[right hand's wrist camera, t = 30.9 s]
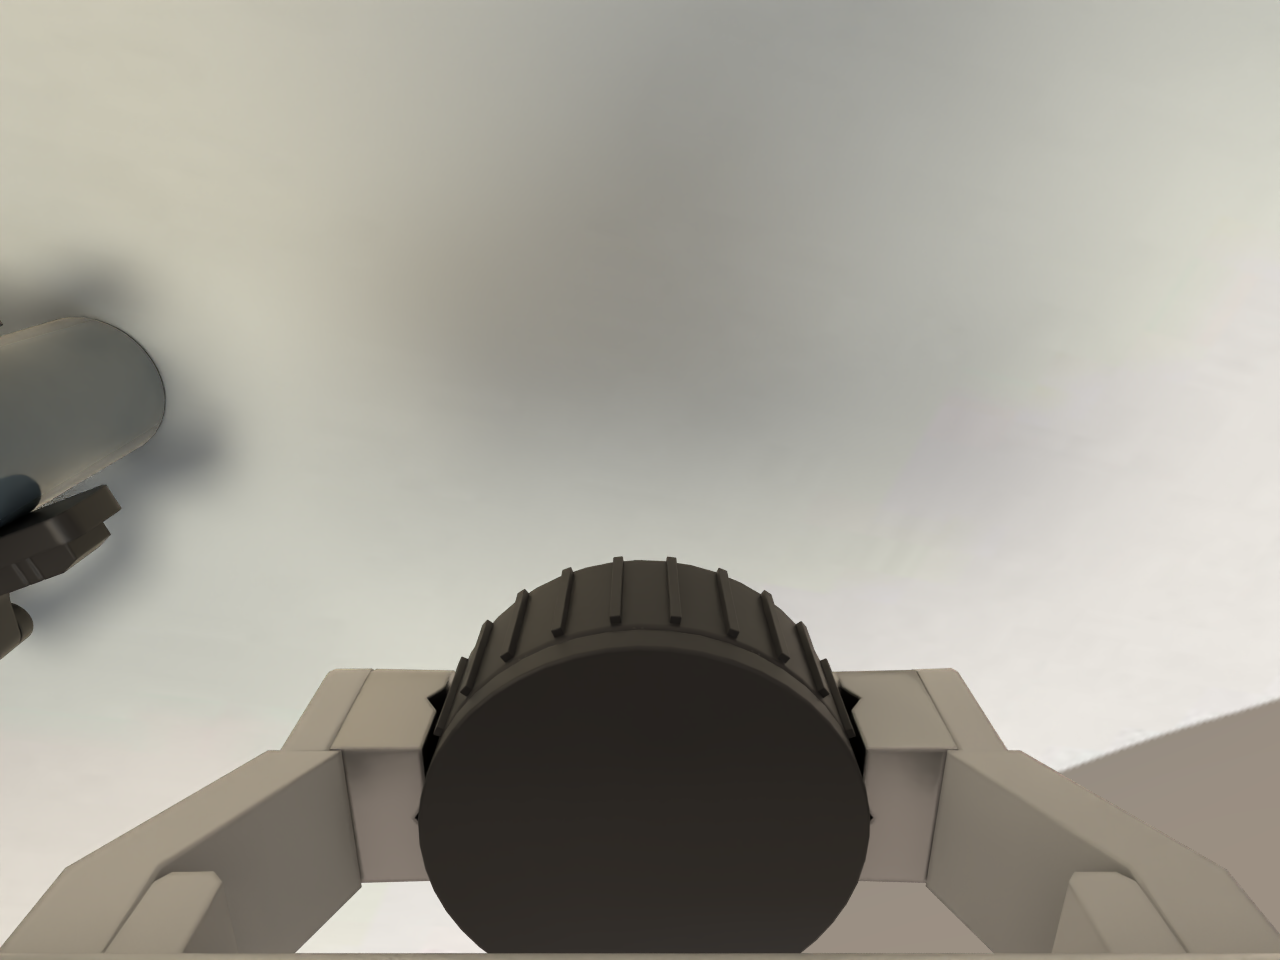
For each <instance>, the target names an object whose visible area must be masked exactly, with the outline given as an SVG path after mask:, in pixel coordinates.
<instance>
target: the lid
mask: <svg viewBox="0 0 1280 960" xmlns="http://www.w3.org/2000/svg"><path fill="white" fill-rule="evenodd" d="M433 734H434V735H437V736H439V740H438V743H437V746H436V749H435V752H434V755H433V757H432V760H431V763H430V766H429V769H428V772H427V775H426V778H425V782H424V786H423V789H422V793H421V797H420V805H419V815H418V830H419V845H420V849H421V853H422V857H423V862H424V866H425V870H426V872H427V875H428V877H429V880H430V882H431V884H432V887H433V889H434V891H435V893H436V895H437V897H438V898H439V900H440V902H441V903H442V905H443V907H444V908H445V910H446V911H447V913H448V914H449V915H450V916H451V918H452V919H453V920H454V921H455V923H456V924H457V925H458V926H459V928H460V929H461V930H462V931H463V932H464V933H465V934H466V935H467V936H468V937H469V938H470V939H471V940H472V941H473V942H475V943H476V944H477V945H478V946H479V947H480V948H481V949H483V950H484V951H485V952H487V953H801V952H802V951H804V950H805V949H806V948H807V947H809V946H810V945H811V944H812V943H814V942H815V941H816V940H817V939H818V938H819V937H820V936H821V935H822V934H823V933H824V932H825V931H826V929H827V928H828V927H829V926H830V925H831V924H832V923H833V922H834V921H835V919H836V918H837V916H838V915H839V914H840V912H841V911H842V909H843V908H844V907H845V905H846V904H847V902H848V900H849V898H850V897H851V895H852V893H853V891H854V889H855V887H856V885H857V883H858V881H859V878H860V875H861V872H862V869H863V866H864V863H865V860H866V855H867V849H868V843H869V837H870V809H869V803H868V797H867V791H866V787H865V784H864V781H863V778H862V775H861V772H860V769H859V766H858V763H857V760H856V758H855V755H854V752H853V749H852V747H851V744H850V741H849V738H852V737H855V736H856V735H855V732H854V729H853V727H852V724H851V721H850V719H849V716H848V713H847V711H846V708H845V705H844V703H843V700H842V697H841V695H840V692H839V689H838V687H837V684H836V681H835V679H834V676H833V673H832V671H831V668H830V665H829V663H828V661H827V659H823V660H821V661H820V660H819V658H818V656H817V654H816V652H815V650H814V647H813V645H812V642H811V639H810V636H809V633H808V631H807V628H806V626H805V625H804V624H803V622H802V621H800V622H799V623H797V624H795V623H794V622H793V621H792V620H791V619H790V618H789V617H788V616H787V615H786V614H785V613H784V612H783V611H782V610H781V609H780V608H778V607H777V606H776V605H774V602H773V598H772V595H771V594H770V593H768V592H767V591H765V590H764V591H763V592H762V593H761V594H759V593H758V592H756V591H754V590H752V589H751V588H749V587H747V586H745V585H744V584H742V583H740V582H738V581H736V580H733V579H731V578H728V573H727V571H726V570H723V569H721V568H718V570H717V572H713V571H710V570H706V569H703V568H699V567H695V566H692V565H686V564H680V563H677V560H676V558H674V557H667V560H666V561H647V560H634V561H623V557H622V556H621V557H614V558H613V562H612V563H607V564H602V565H597V566H592V567H587V568H584V569H581V570H578V571H575V572H573V570H572V568H571V567H570V568H567V569H564V570H562V576H561V577H559V578H556V579H554V580H552V581H550V582H548V583H546V584H544V585H542V586H540V587H538V588H536V589H535V590H533V591H531V592H530V593H528V592H527V591H526V590H525V589H524V590H522V591H521V592H519V593H518V594H517V598H516V601H515V603H514V604H513V605H512V606H510V607H509V608H508V609H507V610H506V611H505V612H503V613H502V614H501V615H500V616H499V617H498V618H497V619H496V620H495V621H494V622H493V623H492V622H490V621H489V620H487V621H486V622H485V623H484V624H483V625H482V628H481V631H480V634H479V637H478V640H477V643H476V646H475V648H474V649H473V651H472V652H471V654H470V656H469V658H468V659H467V658H464V657H461V659H460V661H459V663H458V666H457V669H456V672H455V675H454V677H453V680H452V683H451V686H450V688H449V691H448V694H447V697H446V699H445V702H444V705H443V708H442V710H441V713H440V716H439V719H438V722H437V724H436V727H435V730H434V733H433Z"/></svg>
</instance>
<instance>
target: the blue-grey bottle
mask: <svg viewBox="0 0 1280 960" xmlns="http://www.w3.org/2000/svg"><path fill="white" fill-rule="evenodd" d="M164 408H165V396H164V388H163V384H162V381H161V378H160V375H159V373H158V371H157V369H156V367H155V365H154V363H153V362H152V360H151V359H150V357H149V356H148V354H147V353H146V352H145V351H144V350H143V348H142V347H141V346H140V345H139V344H138V343H136V342H135V341H134V340H133V339H132V338H131V337H129V336H128V335H127V334H125V333H124V332H122V331H120V330H119V329H117V328H115V327H113V326H111V325H109V324H107V323H104V322H101V321H98V320H94V319H90V318H83V317H67V318H61V319H56V320H53V321H50V322H46V323H43V324H39V325H36V326H33V327H29V328H26V329H22V330H19V331H16V332H12V333H9V334H5V335H2V336H0V530H1V529H3V528H5V527H7V526H8V525H10V524H12V523H13V522H15V521H17V520H18V519H20V518H22V517H23V516H25V515H27V514H28V513H30V512H32V511H33V510H35V509H37V508H38V507H40V506H42V505H43V504H45V503H47V502H48V501H50V500H52V499H54V498H55V497H57V496H59V495H60V494H62V493H64V492H65V491H67V490H69V489H70V488H72V487H74V486H75V485H77V484H79V483H80V482H82V481H84V480H85V479H87V478H89V477H90V476H92V475H94V474H95V473H97V472H99V471H101V470H102V469H104V468H106V467H107V466H109V465H111V464H112V463H114V462H116V461H117V460H119V459H121V458H122V457H124V456H126V455H127V454H129V453H131V452H132V451H134V450H136V449H137V448H139V447H141V446H142V445H144V444H145V443H146V442H147V441H148V440H150V439H151V438H152V436H153V435H154V434H155V432H156V431H157V429H158V427H159V426H160V423H161V421H162V418H163V414H164Z"/></svg>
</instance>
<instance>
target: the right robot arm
mask: <svg viewBox="0 0 1280 960" xmlns="http://www.w3.org/2000/svg"><path fill="white" fill-rule="evenodd" d="M832 673H833V676H834V679H835V681H836V684H837V687H838V689H839V692H840V695H841V697H842V700H843V703H844V705H845V708H846V711H847V713H848V716H849V719H850V721H851V724H852V727H853V729H854V732H855V735H856V736H855V737H852V738H849V741H850V744H851V747H852V749H853V752H854V755H855V758H856V760H857V763H858V766H859V769H860V772H861V775H862V778H863V781H864V784H865V787H866V791H867V797H868V803H869V809H870V837H869V843H868V849H867V855H866V860H865V863H864V866H863V869H862V872H861V875H860V878H859V881H882V882H918V883H926V887H927V888H928V889H929V890H930V891H931V892H932V893H933V894H934V895H935V896H936V897H937V898H938V899H939V900H940V901H941V902H942V903H943V904H944V905H945V906H946V907H947V908H948V909H949V910H951V911H952V912H953V913H954V914H955V915H956V916H957V917H958V918H959V919H960V920H961V921H962V922H963V923H964V924H965V925H966V926H967V927H968V928H969V929H970V930H971V931H972V932H973V933H974V934H975V935H976V936H977V937H978V938H979V939H980V940H981V941H982V942H983V943H984V944H985V945H986V946H987V947H988V948H989V949H990V950H991V951H992V952H993V953H295V952H296V951H297V950H298V949H299V948H300V947H301V946H302V945H303V944H304V943H305V942H306V941H307V940H308V939H310V938H311V937H312V936H313V935H314V934H315V933H316V932H317V931H318V930H319V929H320V928H321V927H322V926H323V925H324V924H325V923H326V922H327V921H328V920H329V919H330V918H331V917H332V916H333V915H334V914H335V913H336V912H337V911H338V910H339V909H340V908H341V907H342V906H343V905H344V904H345V903H346V902H347V901H348V900H349V899H350V898H351V897H352V896H353V895H354V894H355V893H356V892H357V891H358V890H359V889H360V888H361V887H362V886H361V883H370V882H404V881H430V880H429V877H428V875H427V872H426V870H425V866H424V862H423V857H422V853H421V849H420V845H419V830H418V815H419V805H420V797H421V793H422V789H423V786H424V782H425V778H426V775H427V772H428V769H429V766H430V763H431V760H432V757H433V755H434V752H435V749H436V746H437V743H438V740H439V736H437V735H434V734H433V733H434V730H435V727H436V724H437V722H438V719H439V716H440V713H441V710H442V708H443V705H444V702H445V699H446V697H447V694H448V691H449V688H450V686H451V683H452V680H453V677H454V675H455V671H454V670H407V669H375V670H373V669H335V670H332V671H330V672H329V673H328V674H327V675H326V677H325V678H324V680H323V682H322V683H321V685H320V686H319V688H318V690H317V691H316V693H315V695H314V696H313V698H312V699H311V701H310V703H309V704H308V706H307V708H306V709H305V711H304V713H303V714H302V716H301V717H300V719H299V721H298V722H297V724H296V726H295V727H294V729H293V730H292V732H291V734H290V735H289V737H288V739H287V740H286V742H285V743H284V745H283V747H282V748H281V750H268V751H266V752H264V753H263V754H261V755H259V756H257V757H256V758H254V759H252V760H251V761H249V762H247V763H245V764H244V765H242V766H240V767H239V768H237V769H235V770H233V771H232V772H230V773H228V774H226V775H225V776H223V777H221V778H220V779H218V780H216V781H214V782H213V783H211V784H209V785H208V786H206V787H204V788H202V789H201V790H199V791H197V792H195V793H194V794H192V795H190V796H189V797H187V798H185V799H183V800H182V801H180V802H178V803H177V804H175V805H173V806H171V807H170V808H168V809H166V810H164V811H163V812H161V813H159V814H158V815H156V816H154V817H152V818H151V819H149V820H147V821H145V822H144V823H142V824H140V825H139V826H137V827H135V828H133V829H132V830H130V831H128V832H127V833H125V834H123V835H121V836H120V837H118V838H116V839H114V840H113V841H111V842H109V843H108V844H106V845H104V846H102V847H101V848H99V849H97V850H96V851H94V852H92V853H90V854H89V855H87V856H85V857H83V858H82V859H80V860H78V861H77V862H75V863H73V864H71V865H70V866H68V867H66V868H65V869H64V870H63V871H62V873H61V874H60V875H59V876H58V878H57V879H56V880H55V881H54V883H53V884H52V885H51V886H50V887H49V889H48V890H47V891H46V892H45V894H44V895H43V896H42V897H41V898H40V900H39V901H38V902H37V903H36V905H35V906H34V907H33V908H32V910H31V911H30V912H29V913H28V914H27V916H26V917H25V918H24V919H23V921H22V922H21V923H20V924H19V925H18V927H17V928H16V929H15V930H14V932H13V933H12V934H11V935H10V937H9V938H8V939H7V940H6V941H5V943H4V944H3V945H2V946H1V948H0V960H1280V934H1279V933H1278V931H1277V930H1276V929H1275V928H1274V927H1273V925H1272V924H1271V923H1270V922H1269V921H1268V919H1267V918H1266V917H1265V916H1264V914H1263V913H1262V912H1261V911H1260V910H1259V908H1258V907H1257V906H1256V905H1255V903H1254V902H1253V901H1252V900H1251V899H1250V897H1249V896H1248V895H1247V894H1246V893H1245V891H1244V890H1243V889H1242V888H1241V887H1240V885H1239V884H1238V883H1237V882H1236V880H1235V879H1234V878H1233V877H1232V876H1231V874H1230V873H1229V872H1228V871H1227V869H1225V868H1223V867H1221V866H1220V865H1218V864H1216V863H1214V862H1213V861H1211V860H1209V859H1208V858H1206V857H1204V856H1202V855H1201V854H1199V853H1197V852H1195V851H1194V850H1192V849H1190V848H1189V847H1187V846H1185V845H1183V844H1182V843H1180V842H1178V841H1176V840H1175V839H1173V838H1171V837H1169V836H1168V835H1166V834H1164V833H1162V832H1161V831H1159V830H1157V829H1156V828H1154V827H1152V826H1150V825H1149V824H1147V823H1145V822H1143V821H1142V820H1140V819H1138V818H1136V817H1135V816H1133V815H1131V814H1130V813H1128V812H1126V811H1124V810H1123V809H1121V808H1119V807H1117V806H1116V805H1114V804H1112V803H1111V802H1109V801H1107V800H1105V799H1104V798H1102V797H1100V796H1098V795H1097V794H1095V793H1093V792H1091V791H1090V790H1088V789H1086V788H1085V787H1083V786H1081V785H1079V784H1078V783H1076V782H1074V781H1072V780H1071V779H1069V778H1067V777H1065V776H1064V775H1062V774H1060V773H1059V772H1057V771H1055V770H1053V769H1052V768H1050V767H1048V766H1046V765H1045V764H1043V763H1041V762H1039V761H1038V760H1036V759H1034V758H1033V757H1031V756H1029V755H1027V754H1026V753H1024V752H1022V751H1020V750H1007V748H1006V747H1005V745H1004V743H1003V742H1002V740H1001V739H1000V737H999V736H998V734H997V732H996V731H995V729H994V728H993V726H992V725H991V723H990V721H989V720H988V718H987V717H986V715H985V714H984V712H983V710H982V709H981V707H980V706H979V704H978V703H977V701H976V699H975V698H974V696H973V695H972V693H971V692H970V690H969V688H968V687H967V685H966V684H965V682H964V680H963V679H962V677H961V676H960V674H959V673H958V672H957V671H956V670H954V669H952V668H940V669H912V670H889V671H842V672H832Z"/></svg>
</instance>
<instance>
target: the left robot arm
mask: <svg viewBox="0 0 1280 960" xmlns="http://www.w3.org/2000/svg"><path fill="white" fill-rule="evenodd" d="M2 325H3V324H2V322H1V321H0V326H2ZM119 510H121V507H120V505H119V504H118V502H117V501H116V499H115V498H114V496H113V494H112V493H111V491H110V490H109V488H108V487H107V485H101V486H99V487H96V488H93V489H91V490H88V491H85V492H83V493H80V494H77V495H75V496H72V497H69V498H67V499H64V500H61V501H59V502H56V503H53V504H51V505H48V506H46V507H43V508H40V509H38V510H35V511H32V512H30V513H28V514H27V515H25V516H23V517H22V518H20V519H18V520H17V521H15V522H13V523H12V524H10V525H8V526H7V527H5V528H3V529H1V530H0V660H1V659H2V658H3V657H4V656H5V655H7V654H8V653H9V652H10V651H12V650H13V649H14V648H15V647H16V646H18V645H19V644H20V643H21V642H23V641H24V640H25V639H26V638H27V637H29V636H30V635H31V633H32V631H33V621H32V619H31V617H30V615H29V614H28V613H27V612H26V611H25V610H24V609H23V608H22V607H20V606H18V605H16V604H13V603H11V601H10V597H9V593H10V592H13V591H15V590H18V589H21V588H24V587H26V586H28V585H30V584H31V585H32V584H34V583H37V582H40V581H42V580H44V579H48V578H51V577H54V576H56V575H59V574H62V573H64V572H66V571H67V570H68V569H70V568H71V567H72V566H74V565H75V564H76V563H78V562H79V561H81V560H82V559H83V558H85V557H86V556H87V555H89V554H90V553H91V552H93V551H94V550H96V549H97V548H98V547H99V546H100V545H101V544H102V543H103V542H104V541H105V540H106V539H107V538H108V537H109V536H110V535H111V534H110V532H109V531H108V529H107V528H106V526H105V525H104V523H103V522H104V521H105V520H106V519H108V518H109V517H111V516H112V515H114V514H115V513H117V512H118V511H119Z"/></svg>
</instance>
